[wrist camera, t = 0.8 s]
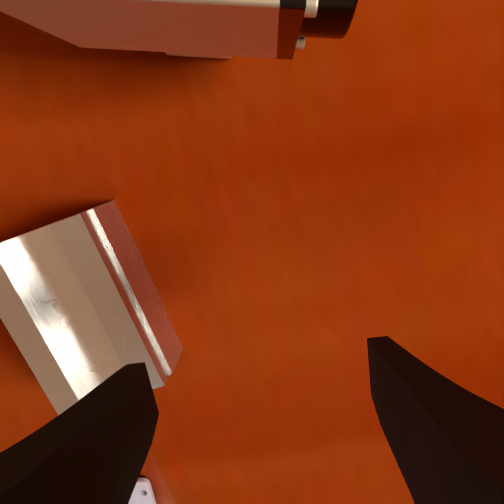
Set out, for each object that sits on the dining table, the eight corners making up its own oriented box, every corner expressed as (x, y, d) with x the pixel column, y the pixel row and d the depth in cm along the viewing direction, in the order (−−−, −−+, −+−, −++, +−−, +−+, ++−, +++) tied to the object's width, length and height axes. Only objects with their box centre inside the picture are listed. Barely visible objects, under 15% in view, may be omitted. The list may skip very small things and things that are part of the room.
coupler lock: (184, 345, 24) (167, 384, 20) (88, 374, 25) (55, 416, 21) (116, 198, 22) (83, 212, 18) (12, 237, 23) (-40, 258, 19)
